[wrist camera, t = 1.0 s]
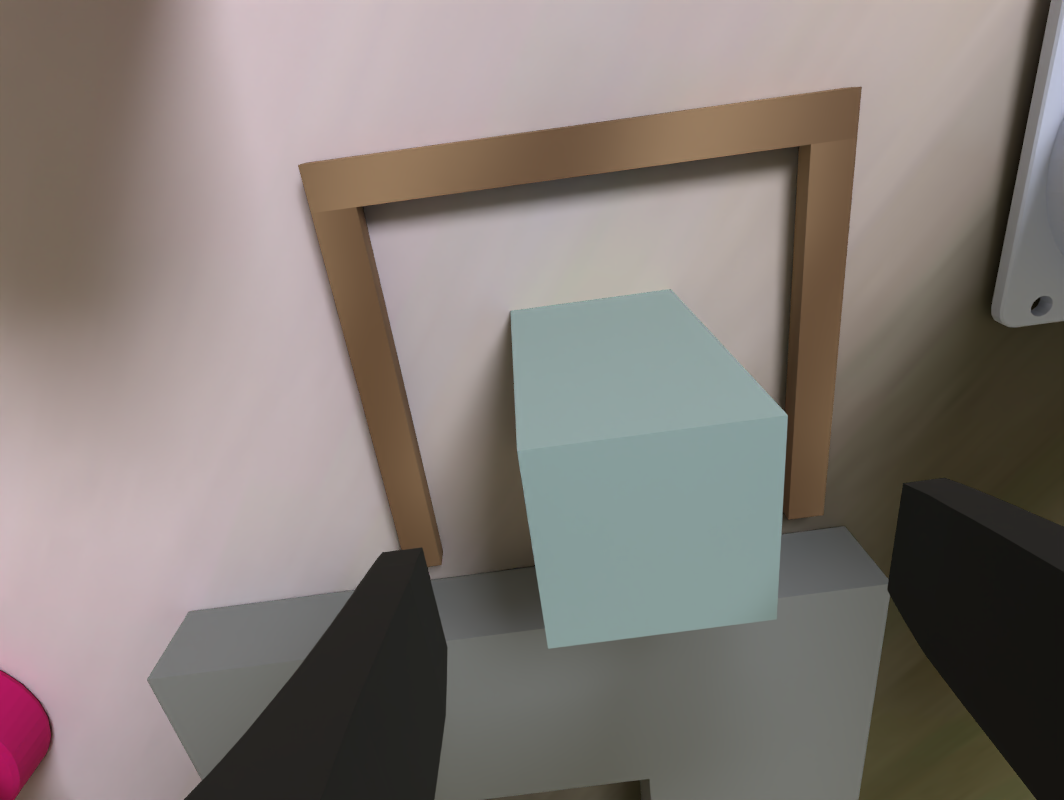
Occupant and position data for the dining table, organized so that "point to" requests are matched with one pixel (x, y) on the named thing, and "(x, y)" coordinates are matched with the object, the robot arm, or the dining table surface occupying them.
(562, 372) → the peg
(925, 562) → the robot arm
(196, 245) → the dining table surface
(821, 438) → the frame
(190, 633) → the socket board
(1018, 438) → the dining table surface
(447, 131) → the dining table surface
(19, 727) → the pepper mill
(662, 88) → the dining table surface
